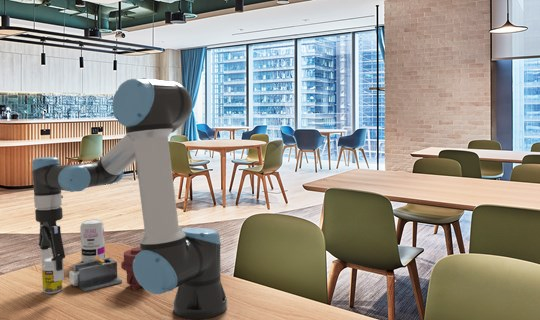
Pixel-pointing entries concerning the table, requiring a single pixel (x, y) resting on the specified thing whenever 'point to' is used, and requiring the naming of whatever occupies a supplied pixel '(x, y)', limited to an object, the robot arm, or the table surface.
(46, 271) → the supplement bottle
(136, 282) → the mechanical component
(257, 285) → the table surface
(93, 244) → the supplement can
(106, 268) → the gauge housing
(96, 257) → the plunger
